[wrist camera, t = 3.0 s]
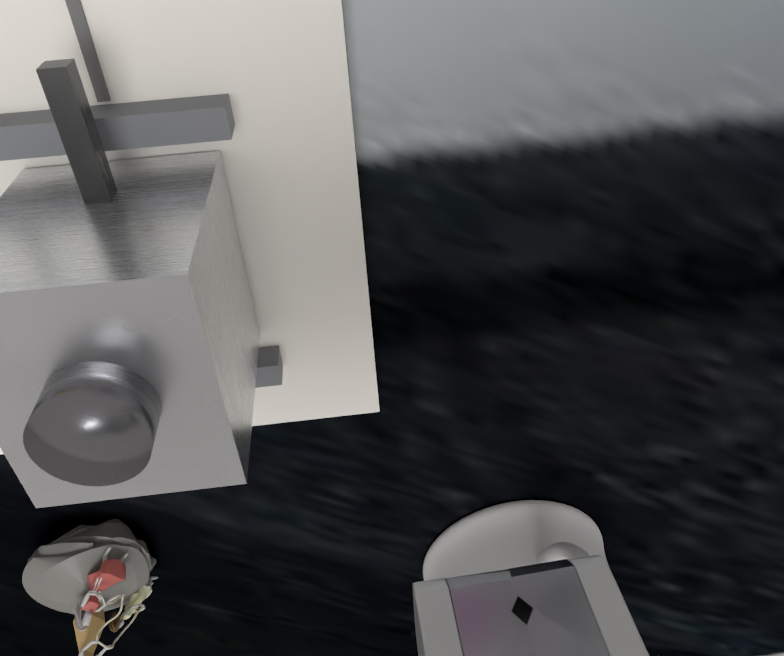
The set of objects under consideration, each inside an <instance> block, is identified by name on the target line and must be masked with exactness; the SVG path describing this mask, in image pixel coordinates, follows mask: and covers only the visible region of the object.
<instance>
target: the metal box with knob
mask: <svg viewBox="0 0 784 656" xmlns="http://www.w3.org/2000/svg"><path fill="white" fill-rule="evenodd" d="M36 72H37V74H38V77H39V80H40V83H41V85H42V88H43V91H44V94H45V96H46V99H47V102H48V105H49V107H50V110H51V113H52V116H53V118H54V121H55V124H56V127H57V129H58V132H59V135H60V138H61V140H62V143H63V146H64V149H65V151H66V154H67V157H68V160H69V162H70V165H62V166H51V167H40V168H29V169H23V170H22V171H21V172H20V173H19V175H18V176H17V177H16V178H15V180H14V181H13V182H12V183H11V184H10V186H9V187H8V188H7V189H6V191H5V192H4V193H3V194H2V195H1V197H0V448H1V450H2V451H3V453H4V455H5V456H6V458H7V460H8V461H9V463H10V465H11V467H12V468H13V470H14V472H15V473H16V475H17V477H18V478H19V480H20V482H21V484H22V485H23V487H24V489H25V490H26V492H27V494H28V496H29V497H30V499H31V501H32V502H33V504H34V506H35V507H36V508H42V507H51V506H59V505H68V504H77V503H85V502H94V501H102V500H111V499H119V498H128V497H137V496H145V495H154V494H162V493H171V492H180V491H188V490H197V489H205V488H214V487H222V486H231V485H240V484H247V474H248V463H249V452H250V441H251V429H252V418H253V407H254V396H255V385H256V373H257V362H258V351H259V340H260V332H259V327H258V323H257V318H256V314H255V309H254V304H253V300H252V295H251V291H250V286H249V282H248V277H247V272H246V268H245V263H244V259H243V254H242V250H241V245H240V241H239V236H238V231H237V227H236V222H235V218H234V213H233V209H232V204H231V200H230V195H229V190H228V186H227V181H226V177H225V172H224V168H223V163H222V159H221V154H220V151H212V152H202V153H191V154H180V155H169V156H159V157H148V158H137V159H126V160H116V161H108V160H107V157H106V154H105V151H104V148H103V145H102V142H101V139H100V136H99V133H98V130H97V127H96V124H95V120H94V117H93V114H92V111H91V108H90V105H89V102H88V99H87V96H86V93H85V90H84V87H83V84H82V81H81V78H80V75H79V72H78V69H77V65H76V62H75V59H62V60H51V61H44V62H43V63H42V64H41V65H40V66H39V67H38V68H37V69H36Z"/></svg>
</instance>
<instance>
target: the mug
mask: <svg viewBox="0 0 784 656" xmlns="http://www.w3.org/2000/svg"><path fill="white" fill-rule="evenodd" d="M593 555H600V556H602V557H603V558H604V559H605V561H606V562H607V560H606V557H605V553H604V545H603V539H602V535H601V533H600V530H599V528H598V527H597V525H596V524H595V522H594V521H593V520H592V519H591V518H590V517H589V516H588V515H586V514H585V513H584V512H582V511H580V510H578V509H576V508H574V507H572V506H569V505H566V504H562V503H558V502H553V501H545V500H523V501H514V502H508V503H503V504H498V505H494V506H491V507H488V508H485V509H482V510H479V511H477V512H475V513H472V514H470V515H468V516H466V517H464V518H462V519H461V520H459V521H457V522H456V523H454V524H453V525H451V526H450V527H449V528H447V529H446V530H445V531H444V532H443V533H441V534H440V535H439V536H438V538H437V539H436V540H435V541H434V542H433V544H432V545H431V546H430V548H429V550H428V552H427V554H426V556H425V559H424V564H423V577H424V581H427V580H434V579H440V578H451V577H458V576H465V575H472V574H478V573H485V572H492V571H499V570H507V569H510V568H516V567H522V566H528V565H534V564H540V563H546V562H552V561H558V560H564V559H567V560H568V559H574V558H580V557H587V556H593Z"/></svg>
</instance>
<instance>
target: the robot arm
mask: <svg viewBox="0 0 784 656" xmlns="http://www.w3.org/2000/svg"><path fill="white" fill-rule="evenodd" d="M412 585H413V602H414V619H415V629H416V638H417V647H418V655H419V656H649V654H648V652H647V650H646V648H645V646H644V643H643V641H642V639H641V637H640V634H639V632H638V630H637V628H636V625H635V623H634V621H633V619H632V617H631V614H630V612H629V610H628V608H627V605H626V603H625V601H624V599H623V597H622V594H621V592H620V590H619V588H618V585H617V583H616V581H615V579H614V577H613V574H612V572H611V570H610V568H609V565H608V563H607V562H606V561H605V559H604V558H603V557H602V556H600V555H593V556H587V557H580V558H574V559H568V560H567V559H564V560H558V561H552V562H546V563H540V564H534V565H528V566H522V567H516V568H510V569H507V570H499V571H492V572H485V573H478V574H472V575H465V576H458V577H451V578H440V579H434V580H427V581H421V582H415V583H412Z"/></svg>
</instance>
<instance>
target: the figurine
mask: <svg viewBox="0 0 784 656" xmlns="http://www.w3.org/2000/svg"><path fill="white" fill-rule="evenodd" d="M155 564H156V559H155V558H153V557H151V556H150V554H149V552H148V549H147V546H146V543H145V542H144V541H142V540H137V539H136V538H135V536H134V535H133V533H132V531H131V530H130V528H129V527H128V526H126V525H125V524H124V523H123V522H122V521H120V520H119V519H112V520H108V521H106V522H103V523H101V524H98V525H95V526H93V525H80V526H78V527H76V528H74V529H73V530H71V531H69V532H68V533H66V534H64V535H63V536H61V537H59V538H58V539H57V540H55V541H53V542H52V543H50V544H48V545H42V546H40V547H39V548H37V549H36V551H35V552H34V553H33V555H32V556H31V557H30V558H29V559H28V563H27V565H26V567H25V569H24V572H23V576H22V582H23V586H24V588H25V590H26V591H27V593H28V594H29V595H30V596H31V597H32V598H33V599H35V600H36V601H37V602H39V603H41V604H43V605H44V606H47V607H49V608H52V609H54V610H57V611H61V612H66V613H71V614H75V618H74V620H73V624H74V629H75V634H76V639H77V644H78V649H79V655H78V656H93V654H94V651H95V649H96V646H97V643H98V644H100V645H101V646H103V647H104V649H103V650H102V651H101V652H100V653H99V655H96V656H102V654H103V653H104V652H105V651H106V650H108V649H112V648H113V647H114V645H115V642H116V641H117V640H118V639H119V638H120V636H121V635H122V634H123V633H124V631H125V630H126V629H127V628H128V627H129V626H130V625H131V623H132V622H133V621H134V619H135V618H136V616H137V614H138V613H139V612H140V611H142V610H144V609H145V607H144V606H145V605H144V604H141V602H142V601H143V600H144V599H146V598H147V597H148V596H149V595H150V594H151V592H152V589H151V587H152V586H151V585H152V584H153V582H152V580H154V579H158V577H150V578H149V572H150V571H151V570H152V569H153V567H154V565H155ZM125 604H127V605H126V607H125V612H123V613H122V615H121V617H120V613H121V611H122V608H123V605H125ZM120 606H121V608H120V611H119V612H118V614H117V615H116V616H115V615H114V614H116V613H117V612H115V613H114V612H113V613H114V614H112V616H111V618H109V621H107V622H106V623H105V619H104V611H108V610H111V609H114V608H118V607H120ZM139 606H142V607H141V608H140V609H139V610H138V611H137V609H138V607H139ZM132 613H134V614H135V616H134V618H133V619H132V620H131V622H130V623H129V624H128V625H127V626H126V627H125V628H124V630H123V631H122V632H121V633H120V634H119V636H118V637H117V638H116V639H115V641H114V642H113V644H112V645H108V646H106V645H104V644H103V643H101V642H100V641H99V638H100V635H101V633H102V630H103V628H104V627H105V626H106V625H107V624H108V623H109V628H110V630H111V631H112V632H117V631H118V629H119V628H120V627H122V626H123V624H124V621H123V620H125V619H128V618H129V617H130V616H131V614H132ZM118 615H119V617H117V616H118ZM73 616H74V615H73ZM114 616H115V617H114Z"/></svg>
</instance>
